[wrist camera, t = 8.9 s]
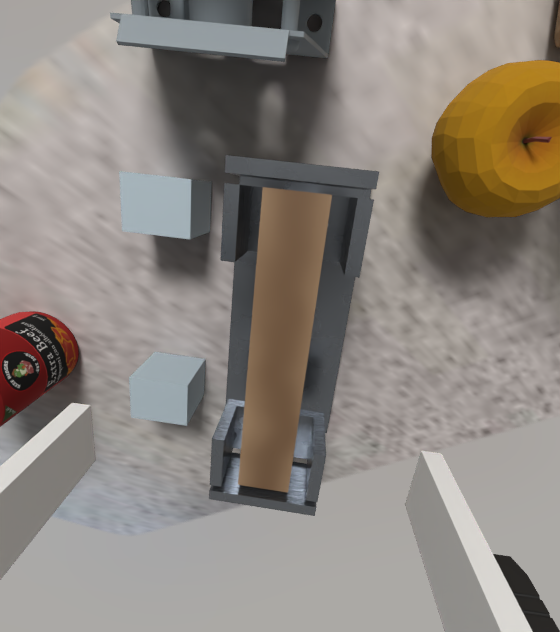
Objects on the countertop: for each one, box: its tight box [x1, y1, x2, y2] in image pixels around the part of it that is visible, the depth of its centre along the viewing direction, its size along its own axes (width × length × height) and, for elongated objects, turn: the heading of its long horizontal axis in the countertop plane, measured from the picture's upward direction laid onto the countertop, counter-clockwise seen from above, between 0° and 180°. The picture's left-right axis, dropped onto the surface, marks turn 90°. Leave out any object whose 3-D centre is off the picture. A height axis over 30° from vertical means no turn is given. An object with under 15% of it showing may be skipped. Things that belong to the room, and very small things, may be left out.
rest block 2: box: [129, 352, 205, 426], centre depth 32 cm, size 5×4×5 cm
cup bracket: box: [209, 155, 379, 516], centre depth 26 cm, size 10×23×11 cm, turn 174°
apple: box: [432, 60, 560, 217], centre depth 22 cm, size 8×8×9 cm
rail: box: [238, 187, 332, 493], centre depth 23 cm, size 4×20×4 cm, turn 174°
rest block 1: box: [119, 171, 212, 239], centre depth 27 cm, size 5×4×5 cm
